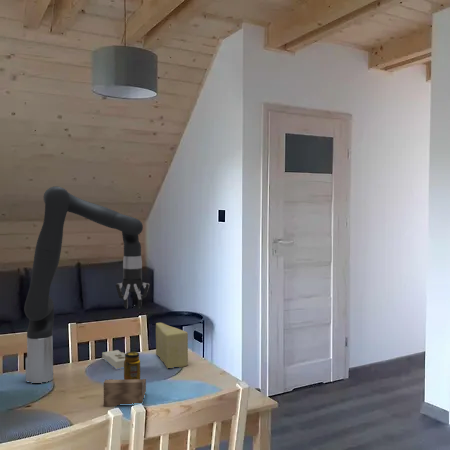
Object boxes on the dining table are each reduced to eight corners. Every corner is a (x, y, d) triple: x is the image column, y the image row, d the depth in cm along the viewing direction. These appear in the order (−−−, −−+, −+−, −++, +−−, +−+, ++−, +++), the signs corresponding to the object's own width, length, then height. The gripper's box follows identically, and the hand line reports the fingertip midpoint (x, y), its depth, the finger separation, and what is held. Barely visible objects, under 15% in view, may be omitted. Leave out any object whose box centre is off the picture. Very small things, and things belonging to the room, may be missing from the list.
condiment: (142, 381, 196) (142, 350, 195) (139, 389, 188) (139, 357, 187) (123, 381, 196) (123, 350, 195) (119, 390, 187) (119, 357, 187)
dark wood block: (103, 406, 172) (103, 382, 172) (109, 394, 183) (109, 372, 182) (142, 405, 173) (142, 382, 172) (145, 394, 183) (145, 372, 183)
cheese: (147, 356, 229) (147, 322, 228) (167, 352, 233) (167, 320, 233) (167, 370, 209) (167, 334, 209) (188, 366, 214) (188, 331, 214)
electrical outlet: (117, 347, 228) (132, 358, 213) (118, 356, 228) (132, 368, 213) (102, 350, 224) (115, 361, 209) (102, 359, 225) (115, 371, 209)
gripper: (113, 268, 205) (113, 310, 205) (149, 268, 205) (149, 310, 206) (116, 265, 212) (116, 306, 213) (151, 265, 213) (151, 306, 213)
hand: (132, 308), depth 209 cm, fingers open, 4 cm apart
